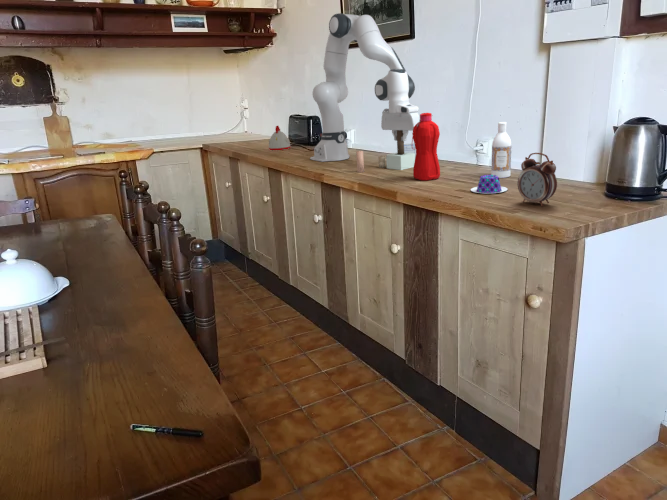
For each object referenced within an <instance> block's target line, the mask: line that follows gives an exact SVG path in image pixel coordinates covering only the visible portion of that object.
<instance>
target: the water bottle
mask: <svg viewBox="0 0 667 500" xmlns="http://www.w3.org/2000/svg"><path fill="white" fill-rule="evenodd" d="M432 117H433V115H432V113H431V112H423V113H419V122H418V123H417V124H416V125H415V126H414V128H413V131H412V132H411V133H412V139H411V143H413V144H415V149H416V157H415V162H414V167H412V168H413V171H412V172H413V174H412V175H413V177H414V179H415V180H420V181H421V182H423V181H431V180H437V179H439V178H440V176H441V167H440V163H439V157H438V151H437V150H438V143H439V139H440V135H441V134H440V127H439V125H438V124H437V122H434V121H433V120H432ZM412 149H413V147H412ZM413 150H414V149H413Z"/></svg>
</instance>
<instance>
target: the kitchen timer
mask: <svg viewBox="0 0 667 500" xmlns="http://www.w3.org/2000/svg"><path fill="white" fill-rule="evenodd" d="M274 129H275V130H274V132H273V134H272V135H271V136H270V139H268V150H269V149H270V150H282V151H284V150H283V149H288V148H292V147H291V143H290V139H289V137H288V136H287V135H286V133H284V132H283V131H281V128H280V126H279V125H276V126H275V128H274ZM288 150H289V149H288Z"/></svg>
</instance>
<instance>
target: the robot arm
mask: <svg viewBox="0 0 667 500" xmlns="http://www.w3.org/2000/svg"><path fill="white" fill-rule="evenodd" d="M328 30H329V34H328V38H327V41H326V45H325V53H324V59H323V65H322V66H323V70H324V72H325V81H323V82H320V83H317V84H316V85H315V86H314V87H313V89H312V98H313V100H314V101H315V103H316V104H317V107H318V111H319V113H320V116H321V125H322V133H319V134H320V135H319V136H320V141H319V142H318V143H317V144H316V145H315V147H314V150H313V151H314V152H313V153H314V155H313V156H310V158H309V160H313V161H317V162H321V163H322V162H337V161H344V160H348V159H349V158H350V157H351V155H350V154H349V150H348V145H347V141H346V130H345V123H344V122H345V121H344V115H343V113H342V111H341V109H340V107H339V106H340V105H339V103H341V102H344V101H345V100H346V99H347V97H348V95H349V89H348V86H347V80H346V69H347V61H348V54H349V47H350V44H351V43H352V42H353V41H354V42H355V43H357V45H358V48H359V51H360V52H361V54H362V55H363V56H364V57H366V58H367V59H369V60H373V61H377V62H381V63H383V64H385V66H387V67H388V68H389V70H388V71H387V74H386V75H385V76H384V77H382V78H381V79H378V80H376V82H375V85H374V95H375V96H376V98H377V99H378V100H379V101H381V102H384V101H385V102H387V101H388V108H384V109H383V110H382V114H381V115H382V116H381V129H382V130H383V131H384V130H385V131H391V134H392V136H393V140H394V141H395V142H397V130H403V133H404V134H403V137H401V141H404V142H405V141H407V136H408V134H409V131H410V132H413V128H414V126H415V125H416V124H417V123H418V122H419V120H420V113H419V111H420V108H419V106H417V105H416V104H412V103H410V98H412V96H413V95H414V93H415V90H416V85H415V82H414V80H413V79H412V77H411V76H409V74H408V72H407V70H406V68H405V67H404V64H403V63H402V61H401V60H400V58H399V55H398V54H397V53H396V50H394V48H393V47H391V46H390V45H389V44H388V42H387V41H385V39H384V38H383V36H382V33H381V31H380V29H379V26H378V24H377V23H376V21H375V19H374V18H373V17H372V16H371V15H369V14H363V15H357V14H353V13H352V14H351V13H350V14H349V13H341V12H340V13H335V14H333V15H332V16H331V17H330V20H329V22H328Z"/></svg>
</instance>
